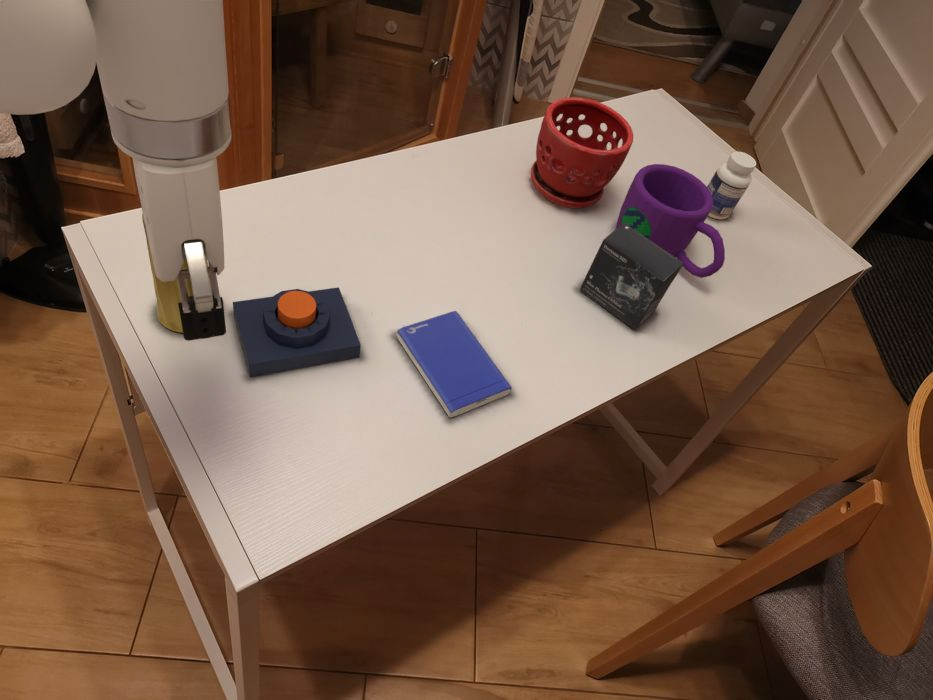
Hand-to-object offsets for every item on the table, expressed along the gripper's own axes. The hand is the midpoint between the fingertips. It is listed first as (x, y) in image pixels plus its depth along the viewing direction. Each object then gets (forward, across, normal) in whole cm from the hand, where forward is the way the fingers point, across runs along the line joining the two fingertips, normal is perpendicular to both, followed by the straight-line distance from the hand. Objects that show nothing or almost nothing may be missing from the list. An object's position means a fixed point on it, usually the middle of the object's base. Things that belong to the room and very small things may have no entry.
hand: (195, 292), depth 58 cm
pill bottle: (+16, -18, +80) cm, 84 cm away
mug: (+16, -10, +64) cm, 67 cm away
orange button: (+12, -6, +10) cm, 17 cm away
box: (+16, -3, +52) cm, 55 cm away
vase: (+16, -12, 0) cm, 20 cm away
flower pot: (+16, -26, +56) cm, 64 cm away
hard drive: (+16, +2, +26) cm, 31 cm away
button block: (+16, -6, +10) cm, 20 cm away
